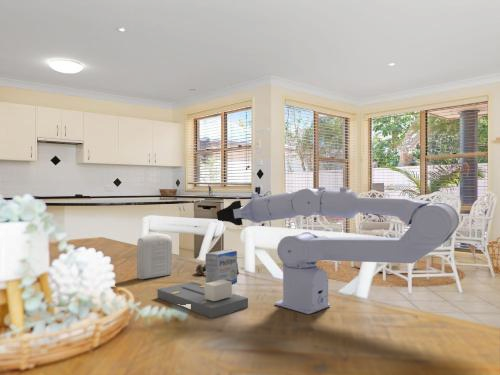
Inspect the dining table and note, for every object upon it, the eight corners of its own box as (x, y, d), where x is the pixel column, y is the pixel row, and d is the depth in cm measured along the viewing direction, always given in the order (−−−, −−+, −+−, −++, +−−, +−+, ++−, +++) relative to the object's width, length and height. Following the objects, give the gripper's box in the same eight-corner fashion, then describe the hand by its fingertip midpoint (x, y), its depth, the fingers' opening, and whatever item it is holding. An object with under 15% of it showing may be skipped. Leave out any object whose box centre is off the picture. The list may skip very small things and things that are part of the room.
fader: (231, 296, 86) (231, 281, 86) (213, 301, 82) (213, 286, 82) (222, 293, 88) (222, 279, 88) (204, 298, 84) (204, 283, 84)
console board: (248, 307, 86) (248, 297, 86) (212, 318, 79) (212, 307, 79) (192, 289, 100) (192, 280, 100) (157, 297, 93) (157, 288, 93)
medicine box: (218, 288, 101) (218, 254, 101) (205, 285, 104) (205, 252, 104) (237, 282, 107) (237, 250, 107) (225, 280, 110) (225, 248, 110)
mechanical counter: (236, 260, 111) (244, 246, 121) (193, 254, 114) (204, 241, 123) (235, 283, 113) (243, 268, 122) (192, 277, 115) (203, 263, 125)
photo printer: (166, 272, 119) (166, 231, 119) (174, 274, 116) (174, 232, 116) (134, 278, 112) (134, 234, 112) (142, 280, 109) (142, 235, 109)
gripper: (286, 188, 97) (242, 196, 104) (254, 192, 85) (206, 200, 92) (291, 216, 97) (246, 222, 104) (259, 224, 85) (210, 230, 92)
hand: (227, 214), depth 98 cm, fingers open, 7 cm apart
